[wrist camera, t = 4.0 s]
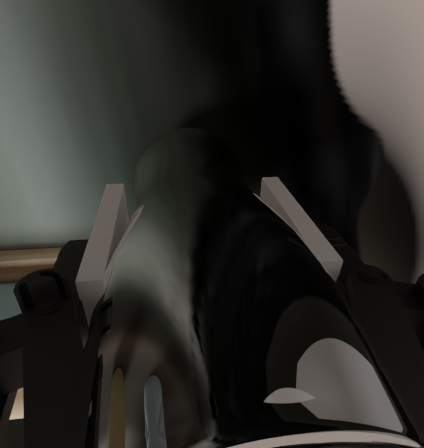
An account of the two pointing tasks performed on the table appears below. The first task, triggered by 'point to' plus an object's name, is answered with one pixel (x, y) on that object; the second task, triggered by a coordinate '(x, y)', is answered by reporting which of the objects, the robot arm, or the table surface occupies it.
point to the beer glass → (225, 324)
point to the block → (8, 301)
